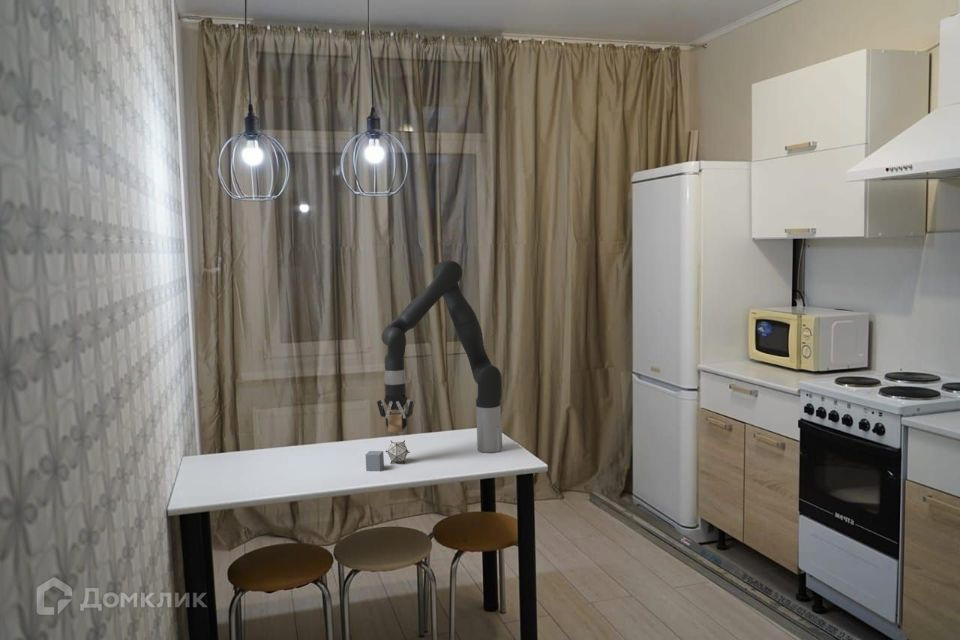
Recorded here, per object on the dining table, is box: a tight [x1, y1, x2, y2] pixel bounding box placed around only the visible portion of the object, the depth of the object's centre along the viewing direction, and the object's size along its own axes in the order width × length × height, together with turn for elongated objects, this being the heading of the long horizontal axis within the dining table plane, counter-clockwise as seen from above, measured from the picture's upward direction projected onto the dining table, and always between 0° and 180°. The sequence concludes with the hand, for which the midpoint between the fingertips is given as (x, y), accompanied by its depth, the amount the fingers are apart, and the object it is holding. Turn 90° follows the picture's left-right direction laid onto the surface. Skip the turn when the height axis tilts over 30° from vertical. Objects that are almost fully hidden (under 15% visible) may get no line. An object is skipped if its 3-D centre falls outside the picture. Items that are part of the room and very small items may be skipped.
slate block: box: [365, 450, 385, 472], centre depth 269 cm, size 5×5×6 cm
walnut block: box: [387, 412, 406, 433], centre depth 275 cm, size 5×5×6 cm
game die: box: [385, 439, 411, 464], centre depth 276 cm, size 9×8×10 cm
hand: (396, 427), depth 276 cm, fingers closed on walnut block, 5 cm apart
